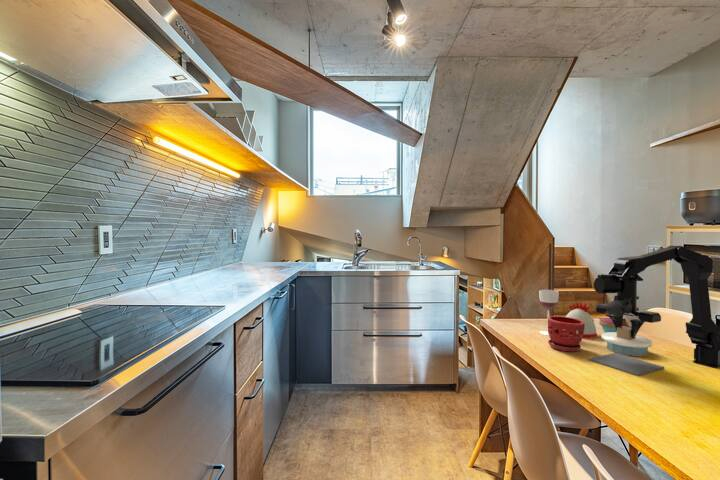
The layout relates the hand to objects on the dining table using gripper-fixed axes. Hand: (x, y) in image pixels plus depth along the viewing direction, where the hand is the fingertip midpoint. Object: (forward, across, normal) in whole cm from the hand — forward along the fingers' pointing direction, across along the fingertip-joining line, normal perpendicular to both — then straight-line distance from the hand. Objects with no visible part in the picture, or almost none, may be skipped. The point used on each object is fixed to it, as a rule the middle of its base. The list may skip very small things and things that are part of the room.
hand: (626, 336), depth 129 cm
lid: (+2, 0, 0) cm, 2 cm away
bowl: (+10, -9, +17) cm, 22 cm away
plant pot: (+10, -21, -3) cm, 24 cm away
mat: (+10, 0, 0) cm, 10 cm away
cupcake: (+10, -28, +38) cm, 48 cm away
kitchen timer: (+10, -33, +23) cm, 41 cm away
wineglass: (+10, -39, +10) cm, 42 cm away
